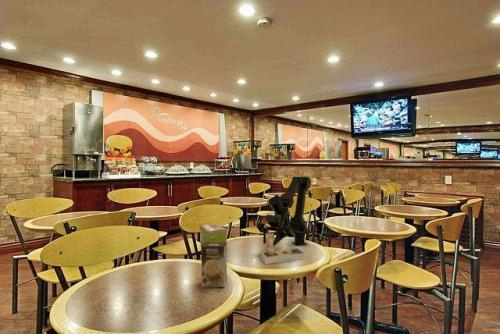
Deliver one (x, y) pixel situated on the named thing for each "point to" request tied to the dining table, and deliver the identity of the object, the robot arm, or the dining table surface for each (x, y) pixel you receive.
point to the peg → (270, 244)
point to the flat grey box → (283, 256)
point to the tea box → (212, 234)
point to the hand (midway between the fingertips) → (268, 244)
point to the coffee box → (214, 264)
